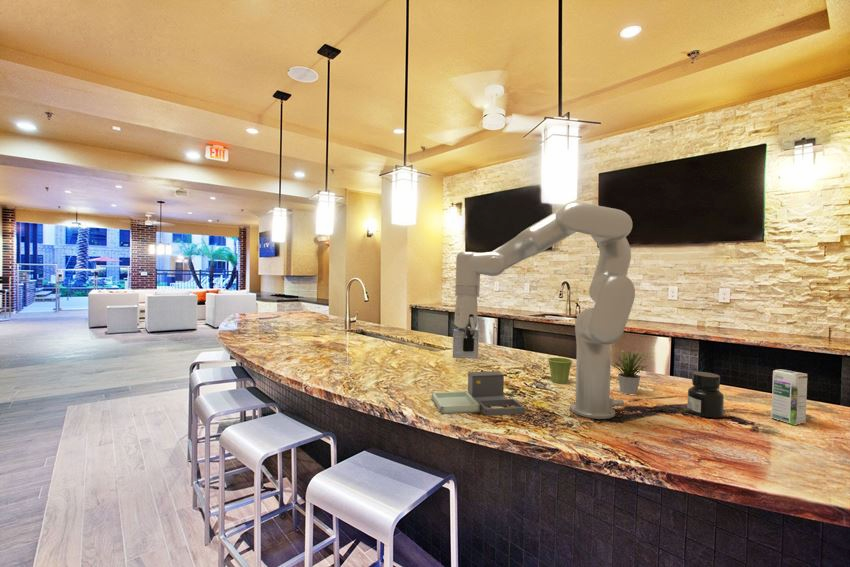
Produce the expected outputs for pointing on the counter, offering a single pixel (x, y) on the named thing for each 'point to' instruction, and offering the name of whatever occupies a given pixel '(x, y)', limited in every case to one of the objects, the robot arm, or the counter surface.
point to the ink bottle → (705, 395)
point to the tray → (455, 402)
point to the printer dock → (491, 393)
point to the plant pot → (559, 369)
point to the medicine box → (458, 345)
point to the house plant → (629, 372)
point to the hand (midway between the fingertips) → (465, 348)
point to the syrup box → (789, 396)
